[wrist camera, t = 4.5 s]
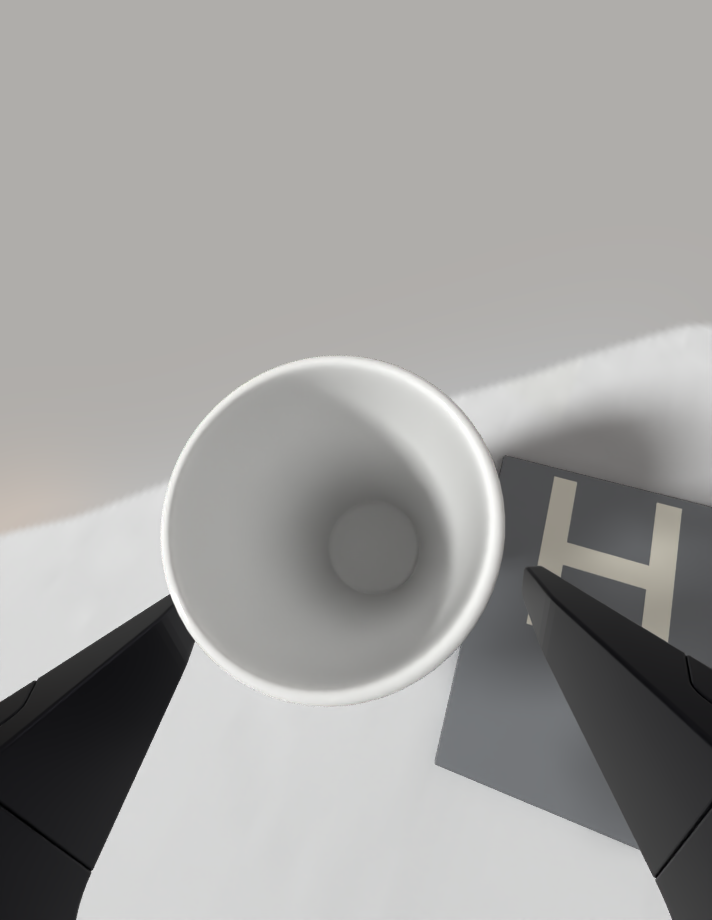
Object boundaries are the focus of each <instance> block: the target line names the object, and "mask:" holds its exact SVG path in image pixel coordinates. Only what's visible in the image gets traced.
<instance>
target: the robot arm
mask: <svg viewBox="0 0 712 920" xmlns="http://www.w3.org/2000/svg"><path fill="white" fill-rule="evenodd" d="M522 596H523V600H524V603H525V605H526V608H527V611H528V614H529V617H530V619H531V622H532V625H533V628H534V631H535V633H536V636H537V639H538V642H539V644H540V647H541V650H542V652H543V654H544V656H545V658H546V660H547V662H548V664H549V667H550V669H551V671H552V673H553V675H554V677H555V679H556V681H557V683H558V685H559V687H560V689H561V691H562V693H563V695H564V697H565V699H566V701H567V703H568V705H569V707H570V709H571V711H572V713H573V715H574V717H575V719H576V721H577V723H578V725H579V727H580V729H581V731H582V733H583V735H584V737H585V739H586V741H587V743H588V745H589V747H590V749H591V752H592V754H593V756H594V758H595V760H596V762H597V764H598V766H599V768H600V770H601V772H602V774H603V776H604V778H605V780H606V782H607V784H608V786H609V788H610V790H611V792H612V794H613V796H614V798H615V800H616V802H617V804H618V806H619V808H620V810H621V812H622V814H623V816H624V818H625V820H626V822H627V824H628V826H629V828H630V830H631V832H632V834H633V837H634V839H635V841H636V843H637V845H638V847H639V849H640V851H641V853H642V855H643V857H644V859H645V861H646V863H647V865H648V867H649V869H650V871H651V873H652V875H653V877H655V878H656V879H655V881H656V883H657V885H658V887H659V889H660V892H661V894H662V896H663V898H664V901H665V903H666V905H667V908H668V910H669V913H670V915H671V918H672V920H712V668H710V667H708V666H707V665H705V664H703V663H702V662H700V661H698V660H697V659H695V658H694V657H692V656H690V655H687V656H686V654H685V653H684V652H683V651H681V650H679V649H678V648H676V647H674V646H673V645H671V644H669V643H668V642H666V641H664V640H663V639H661V638H660V637H658V636H656V635H655V634H653V633H651V632H650V631H648V630H646V629H645V628H643V627H641V626H640V625H638V624H636V623H635V622H633V621H632V620H630V619H628V618H627V617H625V616H623V615H622V614H620V613H618V612H617V611H615V610H613V609H612V608H610V607H609V606H607V605H605V604H604V603H602V602H600V601H599V600H597V599H595V598H594V597H592V596H590V595H589V594H587V593H585V592H584V591H582V590H581V589H579V588H577V587H576V586H574V585H572V584H571V583H569V582H567V581H566V580H564V579H562V578H561V577H559V576H558V575H556V574H554V573H553V572H551V571H549V570H548V569H546V568H544V567H542V566H527V567H526V568H525V569H524V574H523V583H522ZM194 643H195V640H194V639H193V637H192V636H191V635H190V633H189V632H188V630H187V629H186V627H185V625H184V623H183V622H182V620H181V618H180V616H179V614H178V612H177V610H176V607H175V605H174V603H173V601H172V598H171V595H170V594H169V595H168V596H166V597H165V598H163V599H161V600H160V601H158V602H157V603H155V604H154V605H152V606H151V607H149V608H147V609H146V610H144V611H143V612H141V613H140V614H138V615H136V616H135V617H133V618H132V619H130V620H129V621H127V622H126V623H124V624H122V625H121V626H119V627H118V628H116V629H115V630H113V631H112V632H110V633H108V634H107V635H105V636H104V637H102V638H101V639H99V640H97V641H96V642H94V643H93V644H91V645H90V646H88V647H87V648H85V649H83V650H82V651H80V652H79V653H77V654H76V655H74V656H73V657H71V658H69V659H68V660H66V661H65V662H63V663H62V664H60V665H58V666H57V667H55V668H54V669H52V670H51V671H49V672H48V673H46V674H44V675H43V676H41V677H40V678H38V680H37V681H33V682H31V683H29V684H28V685H26V686H25V687H23V688H22V689H20V690H19V691H17V692H15V693H14V694H12V695H11V696H9V697H7V698H6V699H4V700H3V701H1V702H0V920H76V918H77V913H78V909H79V905H80V901H81V898H82V895H83V892H84V890H85V887H86V884H87V882H88V880H89V877H90V875H91V871H92V870H93V868H94V866H95V864H96V862H97V860H98V858H99V855H100V853H101V851H102V849H103V847H104V844H105V842H106V840H107V838H108V836H109V834H110V831H111V829H112V827H113V825H114V823H115V821H116V818H117V816H118V814H119V812H120V810H121V807H122V805H123V803H124V801H125V799H126V797H127V794H128V792H129V790H130V788H131V786H132V783H133V781H134V779H135V777H136V775H137V773H138V770H139V768H140V766H141V764H142V762H143V759H144V757H145V755H146V753H147V751H148V749H149V746H150V744H151V742H152V740H153V738H154V735H155V733H156V731H157V729H158V727H159V725H160V722H161V720H162V718H163V716H164V714H165V711H166V709H167V707H168V705H169V703H170V701H171V698H172V696H173V694H174V692H175V690H176V687H177V685H178V683H179V681H180V679H181V677H182V674H183V672H184V670H185V667H186V665H187V663H188V660H189V657H190V654H191V651H192V648H193V646H194Z"/></svg>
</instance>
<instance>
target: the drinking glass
mask: <svg viewBox="0 0 712 920" xmlns="http://www.w3.org/2000/svg"><path fill="white" fill-rule="evenodd" d="M504 542H505V510H504V499H503V494H502V489H501V484H500V480H499V477H498V474H497V470H496V467H495V464H494V462H493V459H492V457H491V455H490V452H489V450H488V448H487V446H486V444H485V443H484V441H483V439H482V437H481V435H480V434H479V432H478V431H477V429H476V428H475V426H474V425H473V423H472V422H471V421H470V419H469V418H468V417H467V416H466V414H465V413H464V412H463V411H462V410H461V409H460V408H459V407H458V406H457V405H456V404H455V403H454V402H453V401H452V400H451V399H450V398H449V397H448V396H447V395H446V394H445V393H443V392H442V391H440V389H438V388H437V387H436V386H434V385H433V384H431V383H430V382H428V381H427V380H425V379H424V378H422V377H420V376H418V375H416V374H414V373H412V372H410V371H408V370H406V369H404V368H401V367H399V366H396V365H393V364H390V363H387V362H384V361H380V360H376V359H371V358H366V357H358V356H345V355H333V356H319V357H312V358H306V359H301V360H297V361H293V362H290V363H287V364H284V365H281V366H278V367H275V368H273V369H271V370H268V371H266V372H264V373H262V374H260V375H258V376H256V377H254V378H252V379H251V380H249V381H247V382H246V383H244V384H243V385H241V386H240V387H238V388H237V389H236V390H234V391H233V392H232V393H230V394H229V395H228V396H227V397H225V398H224V399H223V400H222V401H221V402H220V403H219V404H218V405H217V406H216V407H215V408H214V409H213V410H212V411H211V412H210V413H209V414H208V415H207V416H206V417H205V419H204V420H203V421H202V422H201V423H200V425H199V426H198V427H197V428H196V430H195V431H194V433H193V434H192V436H191V437H190V439H189V440H188V442H187V444H186V445H185V447H184V449H183V451H182V452H181V454H180V456H179V459H178V461H177V463H176V465H175V468H174V470H173V472H172V475H171V478H170V481H169V484H168V488H167V492H166V496H165V500H164V505H163V512H162V519H161V554H162V562H163V569H164V573H165V578H166V582H167V586H168V589H169V592H170V595H171V598H172V601H173V603H174V605H175V607H176V610H177V612H178V614H179V616H180V618H181V620H182V622H183V623H184V625H185V627H186V629H187V630H188V632H189V633H190V635H191V636H192V637H193V639H194V640H195V642H196V643H197V644H198V645H199V647H200V648H201V649H202V650H203V651H204V652H205V653H206V655H207V656H208V657H209V658H210V659H211V660H212V661H213V662H215V663H216V664H217V665H218V666H219V667H220V668H221V669H222V670H224V671H225V672H226V673H228V674H229V675H230V676H232V677H233V678H235V679H236V680H237V681H239V682H241V683H243V684H244V685H246V686H248V687H250V688H251V689H253V690H255V691H258V692H260V693H262V694H265V695H267V696H269V697H272V698H276V699H279V700H282V701H286V702H289V703H295V704H301V705H306V706H320V707H334V706H348V705H354V704H360V703H366V702H369V701H373V700H376V699H380V698H383V697H386V696H388V695H391V694H393V693H395V692H398V691H400V690H403V689H404V688H406V687H408V686H410V685H412V684H414V683H415V682H417V681H419V680H420V679H422V678H423V677H425V676H426V675H428V674H429V673H430V672H432V671H433V670H435V669H436V668H437V667H438V666H439V665H441V664H442V663H443V662H444V661H445V660H446V659H447V658H449V657H450V656H451V655H452V654H453V652H454V651H455V650H456V649H457V648H458V647H459V646H460V645H461V644H462V643H463V642H464V640H465V639H466V638H467V636H468V635H469V633H470V632H471V631H472V629H473V628H474V627H475V625H476V624H477V622H478V620H479V618H480V617H481V615H482V613H483V612H484V610H485V608H486V606H487V603H488V601H489V599H490V597H491V595H492V592H493V590H494V587H495V584H496V581H497V578H498V575H499V571H500V566H501V562H502V557H503V550H504Z"/></svg>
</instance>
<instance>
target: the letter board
mask: <svg viewBox="0 0 712 920" xmlns="http://www.w3.org/2000/svg"><path fill="white" fill-rule="evenodd" d="M499 480H500V484H501V489H502V494H503V499H504V510H505V542H504V550H503V557H502V562H501V566H500V571H499V575H498V578H497V581H496V584H495V587H494V590H493V592H492V595H491V597H490V599H489V601H488V603H487V606H486V608H485V610H484V612H483V613H482V615H481V617H480V618H479V620H478V622H477V624H476V625H475V627H474V628H473V629H472V631H471V632H470V633H469V635H468V636H467V638H466V639H465V640H464V642H463V643H462V644H461V647H460V652H459V656H458V661H457V665H456V670H455V674H454V678H453V683H452V687H451V692H450V696H449V700H448V705H447V709H446V714H445V718H444V723H443V727H442V731H441V736H440V740H439V745H438V749H437V753H436V758H435V765H438V766H440V767H443V768H445V769H447V770H450V771H452V772H455V773H457V774H459V775H462V776H464V777H466V778H469V779H471V780H474V781H476V782H478V783H481V784H483V785H486V786H488V787H490V788H493V789H495V790H498V791H500V792H502V793H505V794H507V795H510V796H512V797H514V798H517V799H519V800H522V801H524V802H526V803H529V804H531V805H533V806H536V807H538V808H541V809H543V810H545V811H548V812H550V813H553V814H555V815H557V816H560V817H562V818H565V819H567V820H569V821H572V822H574V823H577V824H579V825H581V826H584V827H586V828H589V829H591V830H593V831H596V832H598V833H600V834H603V835H605V836H608V837H610V838H612V839H615V840H617V841H620V842H622V843H624V844H627V845H629V846H632V847H634V848H636V849H639V847H638V845H637V843H636V841H635V839H634V837H633V834H632V832H631V830H630V828H629V826H628V824H627V822H626V820H625V818H624V816H623V814H622V812H621V810H620V808H619V806H618V804H617V802H616V800H615V798H614V796H613V794H612V792H611V790H610V788H609V786H608V784H607V782H606V780H605V778H604V776H603V774H602V772H601V770H600V768H599V766H598V764H597V762H596V760H595V758H594V756H593V754H592V752H591V749H590V747H589V745H588V743H587V741H586V739H585V737H584V735H583V733H582V731H581V729H580V727H579V725H578V723H577V721H576V719H575V717H574V715H573V713H572V711H571V709H570V707H569V705H568V703H567V701H566V699H565V697H564V695H563V693H562V691H561V689H560V687H559V685H558V683H557V681H556V679H555V677H554V675H553V673H552V671H551V669H550V667H549V664H548V662H547V660H546V658H545V656H544V654H543V652H542V650H541V647H540V644H539V642H538V639H537V636H536V633H535V631H534V628H533V625H532V622H531V619H530V617H529V614H528V611H527V608H526V605H525V603H524V600H523V596H522V583H523V574H524V569H525V568H526V567H527V566H542V567H544V568H546V569H548V570H549V571H551V572H553V573H554V574H556V575H558V576H559V577H561V578H562V579H564V580H566V581H567V582H569V583H571V584H572V585H574V586H576V587H577V588H579V589H581V590H582V591H584V592H585V593H587V594H589V595H590V596H592V597H594V598H595V599H597V600H599V601H600V602H602V603H604V604H605V605H607V606H609V607H610V608H612V609H613V610H615V611H617V612H618V613H620V614H622V615H623V616H625V617H627V618H628V619H630V620H632V621H633V622H635V623H636V624H638V625H640V626H641V627H643V628H645V629H646V630H648V631H650V632H651V633H653V634H655V635H656V636H658V637H660V638H661V639H663V640H664V641H666V642H668V643H669V644H671V645H673V646H674V647H676V648H678V649H679V650H681V651H683V652H684V653H685V654H686V656H687V655H690V656H692V657H694V658H695V659H697V660H698V661H700V662H702V663H703V664H705V665H707V666H708V667H710V668H712V507H709V506H705V505H701V504H697V503H693V502H689V501H685V500H681V499H677V498H673V497H669V496H665V495H661V494H657V493H653V492H649V491H645V490H641V489H637V488H633V487H629V486H625V485H621V484H617V483H614V482H610V481H606V480H602V479H598V478H594V477H590V476H586V475H582V474H578V473H574V472H570V471H566V470H562V469H558V468H554V467H550V466H546V465H542V464H538V463H534V462H530V461H526V460H522V459H518V458H514V457H510V456H506V455H505V456H504V457H503V462H502V466H501V471H500V475H499ZM639 850H640V849H639Z"/></svg>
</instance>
